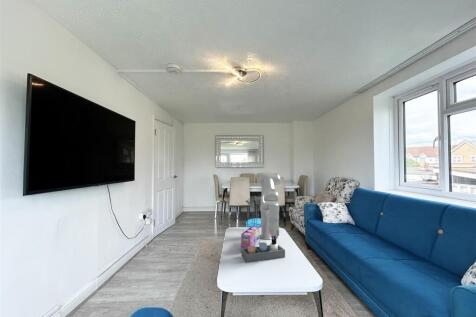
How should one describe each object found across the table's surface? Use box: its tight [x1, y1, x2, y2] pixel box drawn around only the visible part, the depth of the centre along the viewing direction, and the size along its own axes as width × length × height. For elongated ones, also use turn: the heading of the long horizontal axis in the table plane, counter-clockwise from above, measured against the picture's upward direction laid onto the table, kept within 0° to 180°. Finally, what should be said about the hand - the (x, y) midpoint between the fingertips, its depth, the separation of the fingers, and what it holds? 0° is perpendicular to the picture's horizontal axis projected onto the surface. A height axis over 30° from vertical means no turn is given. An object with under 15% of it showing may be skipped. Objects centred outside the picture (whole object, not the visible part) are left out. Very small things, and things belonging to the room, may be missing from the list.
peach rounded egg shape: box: [248, 245, 255, 254], centre depth 163 cm, size 6×6×6 cm
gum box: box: [240, 226, 261, 249], centre depth 185 cm, size 24×8×14 cm, turn 155°
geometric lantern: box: [245, 195, 261, 229], centre depth 230 cm, size 16×16×35 cm
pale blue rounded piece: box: [258, 241, 268, 252], centre depth 165 cm, size 6×6×6 cm
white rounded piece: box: [269, 242, 279, 251], centre depth 168 cm, size 6×6×6 cm
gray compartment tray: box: [240, 244, 286, 264], centre depth 165 cm, size 12×30×6 cm, turn 107°
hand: (274, 244), depth 168 cm, fingers closed
